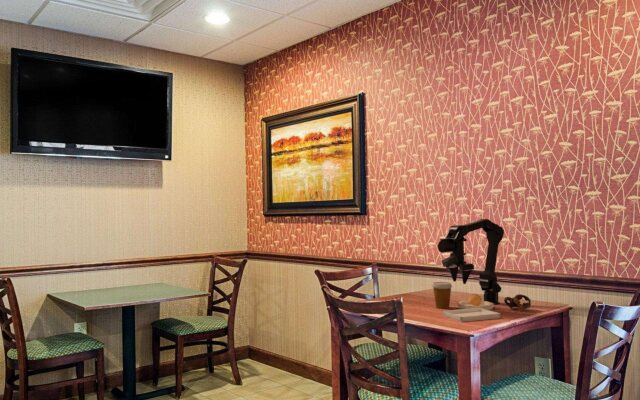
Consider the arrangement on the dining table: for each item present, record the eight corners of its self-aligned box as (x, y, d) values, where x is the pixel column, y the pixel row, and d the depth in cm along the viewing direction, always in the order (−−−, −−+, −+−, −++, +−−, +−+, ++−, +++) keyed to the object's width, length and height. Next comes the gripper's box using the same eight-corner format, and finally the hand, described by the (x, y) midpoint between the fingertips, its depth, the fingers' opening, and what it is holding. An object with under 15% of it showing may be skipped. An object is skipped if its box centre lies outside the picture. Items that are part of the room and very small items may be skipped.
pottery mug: (526, 308, 263) (532, 295, 259) (527, 321, 254) (533, 307, 251) (501, 302, 265) (506, 288, 261) (501, 313, 257) (506, 300, 253)
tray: (480, 312, 254) (480, 307, 254) (500, 318, 239) (500, 313, 239) (442, 315, 248) (442, 311, 248) (460, 321, 233) (460, 317, 233)
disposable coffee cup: (452, 309, 262) (452, 284, 262) (432, 309, 264) (432, 284, 264) (452, 305, 271) (451, 281, 271) (432, 305, 273) (432, 281, 273)
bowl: (480, 304, 275) (480, 299, 275) (499, 309, 260) (499, 304, 260) (452, 306, 270) (452, 301, 270) (470, 311, 255) (470, 307, 255)
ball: (477, 304, 269) (476, 292, 269) (484, 306, 263) (484, 294, 263) (466, 305, 267) (466, 293, 267) (473, 307, 261) (473, 295, 261)
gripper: (434, 250, 273) (435, 281, 273) (453, 253, 255) (454, 286, 255) (453, 249, 276) (455, 279, 276) (474, 252, 258) (475, 284, 258)
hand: (459, 282), depth 266 cm, fingers open, 9 cm apart
